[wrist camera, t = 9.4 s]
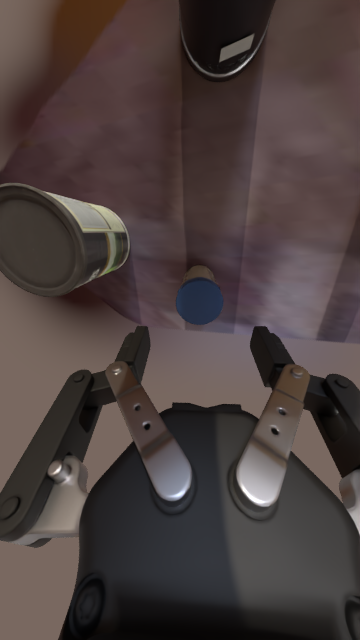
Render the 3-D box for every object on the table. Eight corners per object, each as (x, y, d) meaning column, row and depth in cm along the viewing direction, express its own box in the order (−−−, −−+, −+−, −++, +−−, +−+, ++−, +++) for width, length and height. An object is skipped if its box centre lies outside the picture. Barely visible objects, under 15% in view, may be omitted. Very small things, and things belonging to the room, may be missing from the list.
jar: (179, 271, 32) (171, 288, 22) (209, 260, 30) (214, 273, 21) (189, 299, 34) (186, 326, 24) (218, 290, 32) (226, 314, 23)
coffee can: (139, 263, 32) (101, 285, 19) (87, 277, 33) (21, 306, 21) (115, 194, 27) (45, 163, 15) (58, 215, 29) (-48, 203, 17)
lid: (214, 322, 25) (216, 328, 23) (174, 314, 25) (172, 320, 23) (226, 281, 23) (229, 285, 21) (181, 272, 23) (180, 276, 21)
